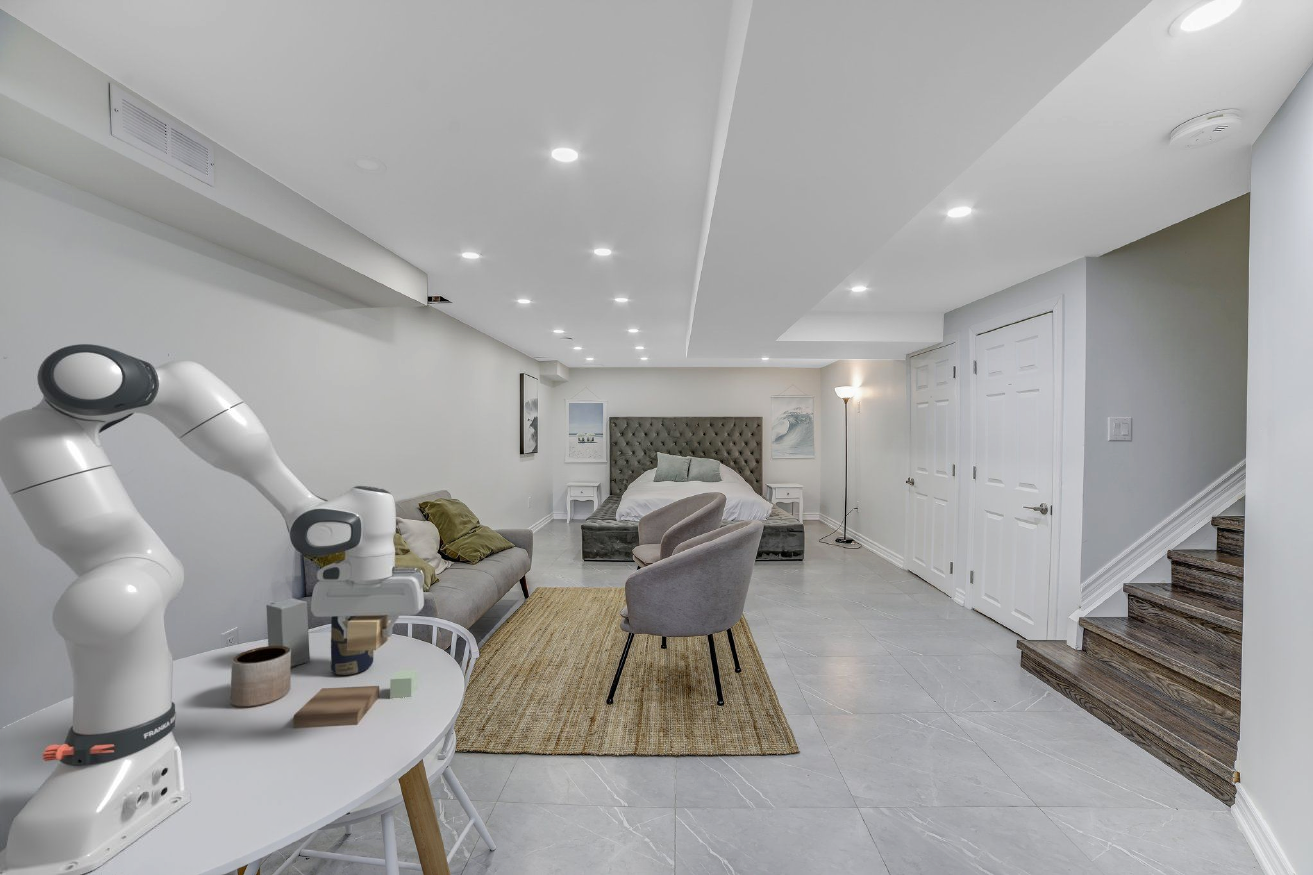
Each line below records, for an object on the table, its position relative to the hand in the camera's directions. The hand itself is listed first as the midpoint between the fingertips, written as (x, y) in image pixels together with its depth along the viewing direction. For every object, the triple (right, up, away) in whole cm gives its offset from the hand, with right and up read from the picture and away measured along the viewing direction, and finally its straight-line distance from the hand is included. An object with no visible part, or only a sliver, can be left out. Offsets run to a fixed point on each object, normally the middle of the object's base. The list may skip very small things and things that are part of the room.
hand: (368, 636), depth 107 cm
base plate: (-10, -19, +7) cm, 23 cm away
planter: (-31, -19, +14) cm, 39 cm away
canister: (-19, -19, +28) cm, 39 cm away
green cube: (0, -19, +16) cm, 25 cm away
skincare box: (-38, -19, +32) cm, 53 cm away
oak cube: (0, -2, 0) cm, 2 cm away
